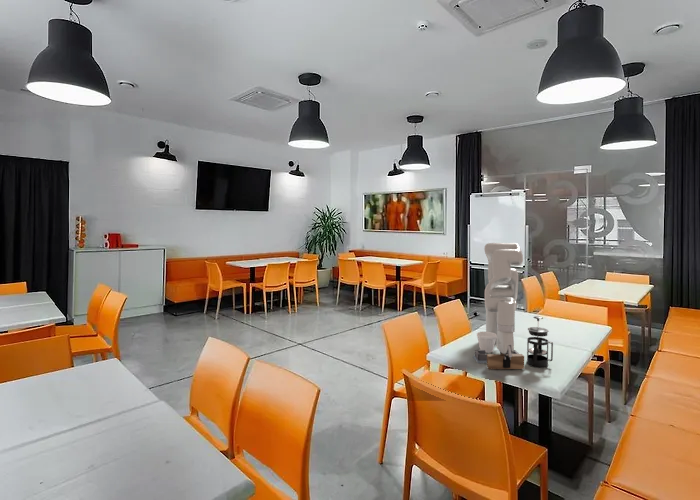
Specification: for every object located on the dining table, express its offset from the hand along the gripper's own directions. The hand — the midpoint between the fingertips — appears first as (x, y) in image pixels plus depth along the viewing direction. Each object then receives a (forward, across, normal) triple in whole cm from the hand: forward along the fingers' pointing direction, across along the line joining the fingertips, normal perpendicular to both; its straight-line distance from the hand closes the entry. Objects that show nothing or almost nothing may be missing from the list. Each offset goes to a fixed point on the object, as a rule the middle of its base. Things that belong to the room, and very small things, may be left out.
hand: (505, 365), depth 180 cm
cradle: (+1, -11, 0) cm, 11 cm away
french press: (+2, -5, +18) cm, 18 cm away
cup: (+2, -24, -1) cm, 24 cm away
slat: (+1, 0, 0) cm, 1 cm away
